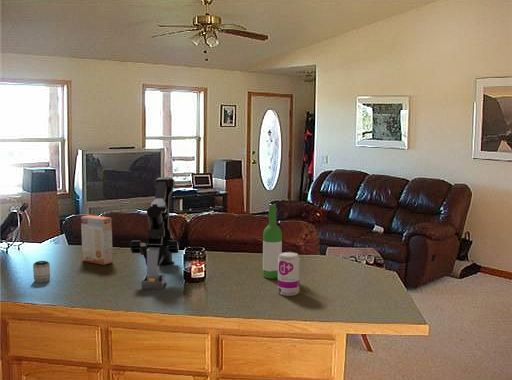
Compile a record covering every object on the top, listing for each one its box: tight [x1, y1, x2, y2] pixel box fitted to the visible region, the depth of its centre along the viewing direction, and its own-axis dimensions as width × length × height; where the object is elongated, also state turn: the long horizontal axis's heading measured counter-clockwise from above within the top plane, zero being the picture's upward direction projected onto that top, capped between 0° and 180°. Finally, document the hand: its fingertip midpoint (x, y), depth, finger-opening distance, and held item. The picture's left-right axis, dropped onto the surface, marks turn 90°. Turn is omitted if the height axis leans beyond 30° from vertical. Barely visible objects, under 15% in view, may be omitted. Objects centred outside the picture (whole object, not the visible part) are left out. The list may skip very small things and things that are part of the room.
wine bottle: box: [262, 204, 283, 280], centre depth 236 cm, size 8×8×30 cm
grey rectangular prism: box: [146, 247, 160, 281], centre depth 224 cm, size 5×4×13 cm
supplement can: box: [277, 251, 301, 297], centre depth 216 cm, size 8×8×15 cm
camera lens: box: [32, 260, 51, 284], centre depth 230 cm, size 6×6×8 cm
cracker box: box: [80, 214, 114, 266], centre depth 259 cm, size 14×6×21 cm, turn 58°
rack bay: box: [140, 274, 166, 290], centre depth 225 cm, size 9×8×4 cm
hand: (152, 265), depth 223 cm, fingers closed on grey rectangular prism, 4 cm apart
